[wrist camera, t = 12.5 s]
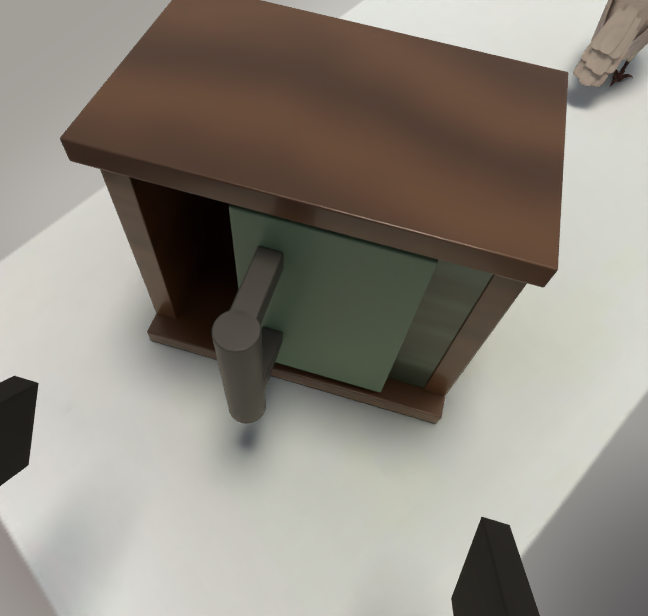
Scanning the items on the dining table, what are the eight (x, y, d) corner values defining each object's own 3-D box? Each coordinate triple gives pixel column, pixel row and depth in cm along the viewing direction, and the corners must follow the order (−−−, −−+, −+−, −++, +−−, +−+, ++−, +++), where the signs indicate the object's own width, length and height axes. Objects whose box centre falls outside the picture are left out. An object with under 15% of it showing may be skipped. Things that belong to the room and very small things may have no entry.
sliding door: (360, 476, 24) (414, 381, 15) (214, 432, 25) (174, 312, 15) (383, 382, 27) (441, 249, 17) (249, 344, 27) (234, 194, 18)
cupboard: (436, 424, 27) (558, 270, 15) (150, 340, 29) (58, 138, 17) (462, 274, 33) (569, 71, 21) (218, 209, 34) (185, -18, 22)
